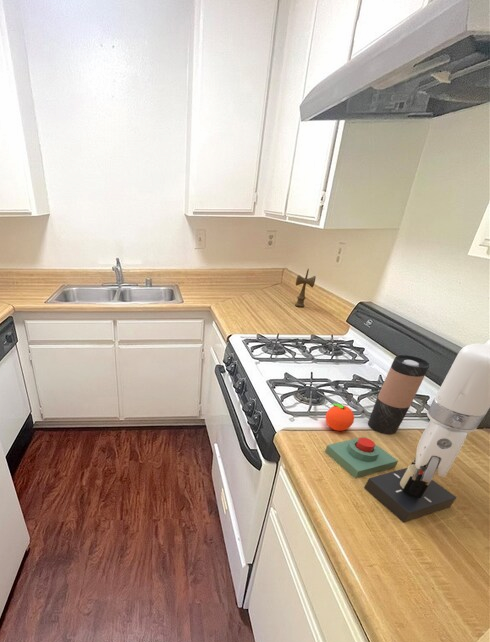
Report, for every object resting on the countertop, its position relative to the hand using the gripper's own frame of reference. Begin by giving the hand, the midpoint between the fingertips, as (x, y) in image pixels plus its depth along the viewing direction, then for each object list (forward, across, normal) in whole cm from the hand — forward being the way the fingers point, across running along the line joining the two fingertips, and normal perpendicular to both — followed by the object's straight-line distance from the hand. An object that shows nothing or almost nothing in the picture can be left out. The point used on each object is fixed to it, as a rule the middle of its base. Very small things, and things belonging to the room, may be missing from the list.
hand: (412, 486), depth 72 cm
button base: (+3, +8, +10) cm, 13 cm away
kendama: (+4, +135, +62) cm, 149 cm away
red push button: (0, +8, +11) cm, 13 cm away
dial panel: (+3, 0, 0) cm, 3 cm away
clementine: (+4, +19, +19) cm, 27 cm away
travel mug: (+4, +27, +8) cm, 28 cm away
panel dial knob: (0, 0, 0) cm, 0 cm away
